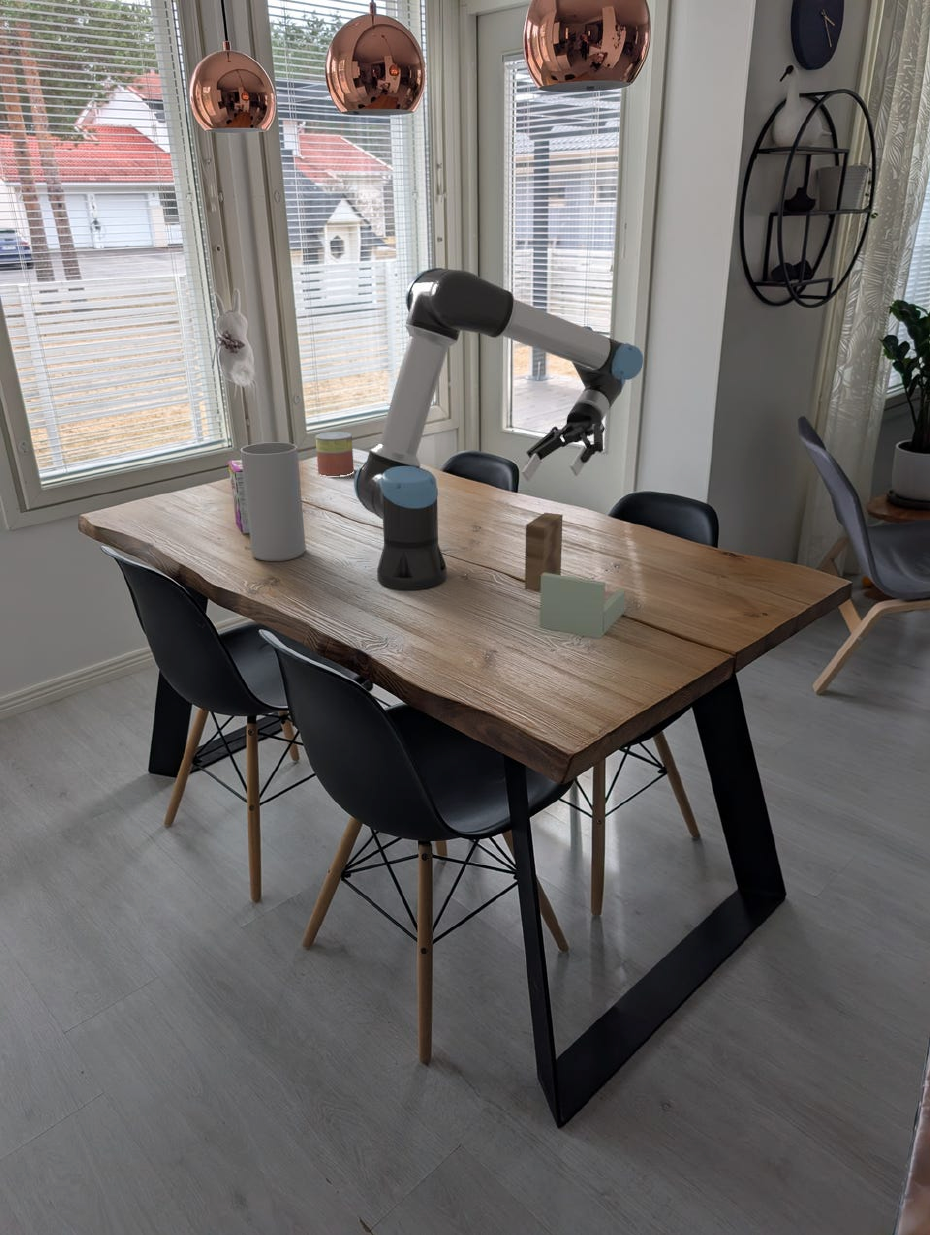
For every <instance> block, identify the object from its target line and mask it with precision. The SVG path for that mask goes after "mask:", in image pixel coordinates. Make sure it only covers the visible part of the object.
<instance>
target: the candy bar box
mask: <svg viewBox="0 0 930 1235" xmlns="http://www.w3.org/2000/svg"><path fill="white" fill-rule="evenodd" d="M228 471H229V478H230V484H231V485H230V487H231V493H232V501H233V509H234V510H233V511H234V518H235V523H236V525H237V526H238V528H239V530H240V532H241V534H242V535H250V532H249V523H248V514H247V504H246V495H245V486H244V477H243V468H242V459H237V460H230V461H229V460H228Z"/></svg>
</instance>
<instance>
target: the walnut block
mask: <svg viewBox="0 0 930 1235" xmlns="http://www.w3.org/2000/svg"><path fill="white" fill-rule="evenodd" d="M563 515H564V514H558V513H552V512H544V513H542V514H540V515H539V516H538V517H536V518H534V519H533V520H532V521H530V522H528V523H527V524H525V566H524V571H525V572H524V573H525V574H524V590H528V591H529V590H530V591H537V592H541V575H542V574H543V573H550V574H556V575H562V574H561V572H562V570H561V569H562V548H563V547H562V546H563V544H562V543H563V541H562V540H563Z"/></svg>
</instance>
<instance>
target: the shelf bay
mask: <svg viewBox="0 0 930 1235" xmlns="http://www.w3.org/2000/svg"><path fill="white" fill-rule="evenodd" d="M605 593H606V582H603V581H599V580H598V581H597V580H591V579H586V578H581V577H574V576H568V575H562V574H561V575H556V574H550V573H543V574H542V575H541V591H540V602H539V604H540V605H539V628H540V629H546V630H553V631H558V632H561V633H567V634H572V635H577V636H583V637H589V638H593V639H598V640H600V639H601V638H602V637H603V636H604V635H605V634H606V632H608V630H609V629H610V628H611V627H612V626H613V625H614V624H616V622H617V621H618V620H619V619H620V617H621V616H623V614H624V613H625V612H626V611H627V610H628V606H627V605H625V604H626V590H624V589H623V590H622V589H617V590H616V591H615V592H614V593H613V594H612V595H610V597H609V598H608V599H607V600H606V601H605V599H606V597H605V595H606V594H605Z"/></svg>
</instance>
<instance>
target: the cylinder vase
mask: <svg viewBox="0 0 930 1235" xmlns="http://www.w3.org/2000/svg"><path fill="white" fill-rule="evenodd" d="M240 456H241V457H240V458H241V460H242V468H243V477H244V486H245V495H246V504H247V514H248V523H249V532H250V533H249V539H250V550H251V554H252V556H253V557H254V558H256V559H258V560H261V561H264V562H265V561H266V562H284V561H290V560H294V559H296V558H299V557H301V556H302V555H303V554H304V553H305V552H306V550H307V548H306V538H305V523H304V511H303V501H302V500H303V499H302V489H301V488H302V487H301V476H300V467H299V466H300V464H299V452H298V446H297V444H294V443H289V442H281V441H280V442H279V441H277V442H276V441H275V442H272V441H271V442H259V443H254V444H248V445H246V446H243V447H242V448H241V449H240Z"/></svg>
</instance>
